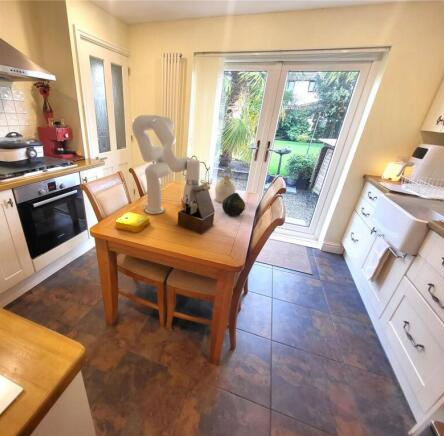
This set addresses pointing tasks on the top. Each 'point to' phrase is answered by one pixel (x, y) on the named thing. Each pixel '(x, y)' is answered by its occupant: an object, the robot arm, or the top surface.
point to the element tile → (132, 222)
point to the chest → (195, 221)
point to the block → (192, 208)
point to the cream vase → (224, 187)
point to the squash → (233, 204)
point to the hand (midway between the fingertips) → (190, 210)
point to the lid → (203, 200)
